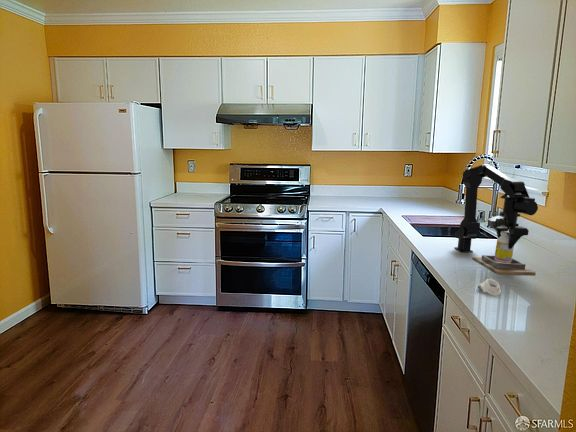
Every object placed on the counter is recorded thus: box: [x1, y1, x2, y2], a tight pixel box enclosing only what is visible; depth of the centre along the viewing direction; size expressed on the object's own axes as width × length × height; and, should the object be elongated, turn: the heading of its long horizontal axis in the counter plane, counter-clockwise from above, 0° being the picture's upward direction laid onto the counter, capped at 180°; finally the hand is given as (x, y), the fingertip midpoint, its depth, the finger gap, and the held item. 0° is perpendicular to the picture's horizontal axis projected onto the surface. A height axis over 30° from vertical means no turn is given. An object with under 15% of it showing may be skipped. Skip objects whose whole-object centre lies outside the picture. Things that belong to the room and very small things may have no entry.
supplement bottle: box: [494, 230, 515, 263], centre depth 170 cm, size 7×7×13 cm
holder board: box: [472, 254, 537, 276], centre depth 171 cm, size 20×16×3 cm
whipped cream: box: [477, 278, 502, 296], centre depth 141 cm, size 8×7×5 cm
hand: (504, 246), depth 170 cm, fingers closed on supplement bottle, 6 cm apart
